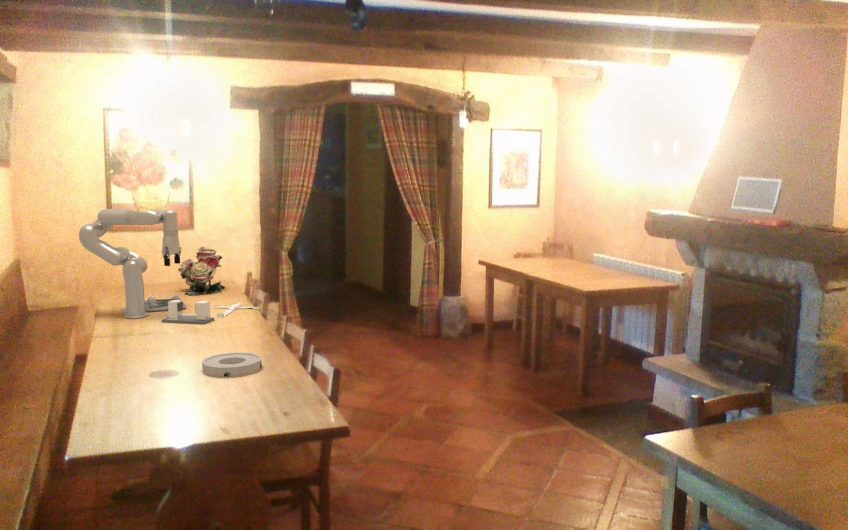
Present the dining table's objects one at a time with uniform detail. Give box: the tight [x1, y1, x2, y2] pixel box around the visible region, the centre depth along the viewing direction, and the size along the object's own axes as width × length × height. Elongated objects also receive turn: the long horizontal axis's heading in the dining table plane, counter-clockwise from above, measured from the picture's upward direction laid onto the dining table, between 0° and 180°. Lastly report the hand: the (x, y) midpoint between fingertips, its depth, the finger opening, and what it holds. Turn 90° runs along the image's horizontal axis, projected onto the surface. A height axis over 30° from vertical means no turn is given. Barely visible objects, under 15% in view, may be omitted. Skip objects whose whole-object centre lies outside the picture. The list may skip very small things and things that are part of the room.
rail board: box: [161, 300, 215, 325], centre depth 380 cm, size 25×10×11 cm, turn 77°
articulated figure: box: [212, 302, 260, 318], centre depth 406 cm, size 27×4×30 cm
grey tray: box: [145, 294, 187, 313], centre depth 422 cm, size 30×22×7 cm
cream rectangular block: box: [167, 300, 184, 319], centre depth 382 cm, size 6×6×9 cm
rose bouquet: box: [177, 246, 226, 297], centre depth 467 cm, size 26×29×30 cm
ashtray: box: [201, 352, 263, 378], centre depth 291 cm, size 23×23×4 cm
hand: (172, 264), depth 392 cm, fingers open, 9 cm apart
